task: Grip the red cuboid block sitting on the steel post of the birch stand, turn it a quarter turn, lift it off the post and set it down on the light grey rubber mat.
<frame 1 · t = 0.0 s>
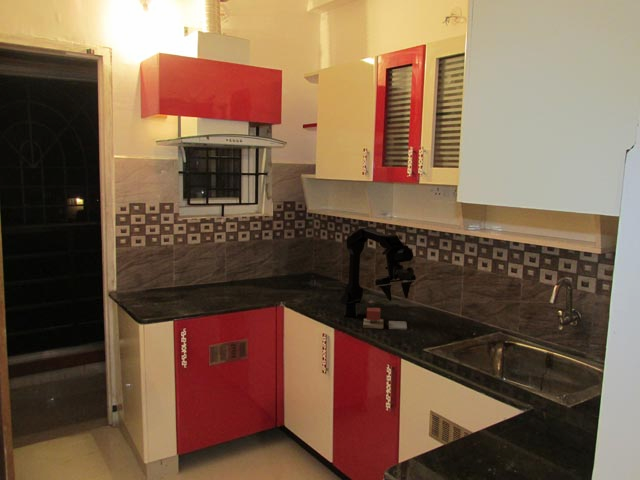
hand: (398, 299, 234), 15 cm above the worktop, tool pointing down, fingers open, 9 cm apart
post stand: (373, 325, 248), on the worktop
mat: (397, 326, 247), on the worktop
red cuboid block: (373, 318, 248), point 3 cm above the worktop, touching post stand
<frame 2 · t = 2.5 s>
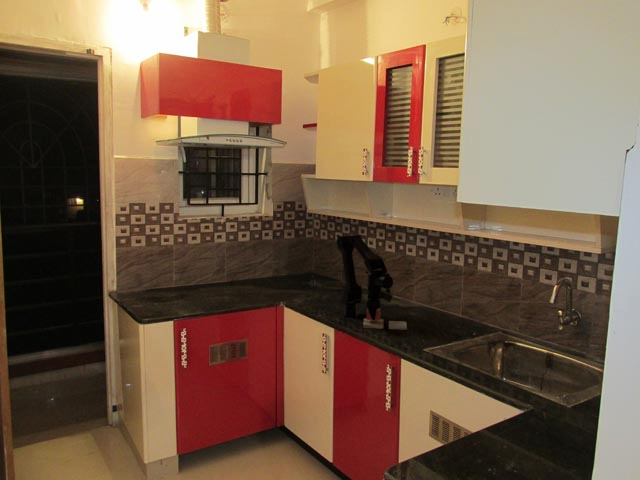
hand: (373, 318, 248), 3 cm above the worktop, tool pointing down, fingers closed on red cuboid block, 6 cm apart
red cuboid block: (373, 318, 248), point 3 cm above the worktop, touching gripper, post stand
when the fingers open (2 cm above the worktop, at t = 8.6 s): red cuboid block drops 2 cm, resting on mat.
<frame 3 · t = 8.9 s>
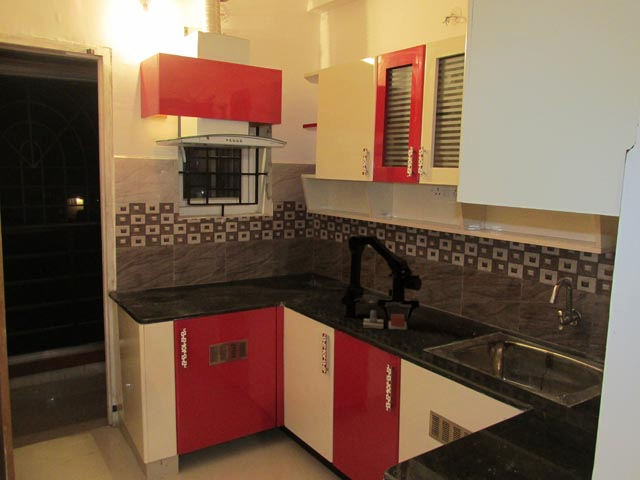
hand: (397, 320, 247), 2 cm above the worktop, tool pointing down, fingers open, 9 cm apart
red cuboid block: (397, 324, 247), point 1 cm above the worktop, touching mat
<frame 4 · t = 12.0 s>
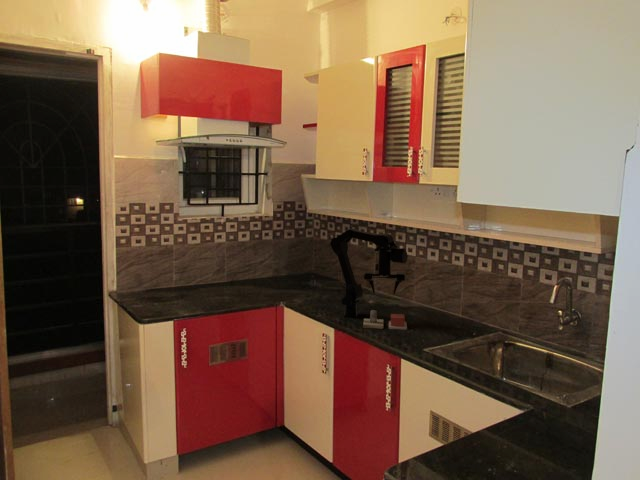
hand: (384, 294, 253), 13 cm above the worktop, tool pointing down, fingers open, 9 cm apart
nothing on the worktop moved.
at the end: red cuboid block inside the target area (0.1 cm from its centre), point 0.8 cm above the worktop; red cuboid block tilted 0°; the gripper is holding nothing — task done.
